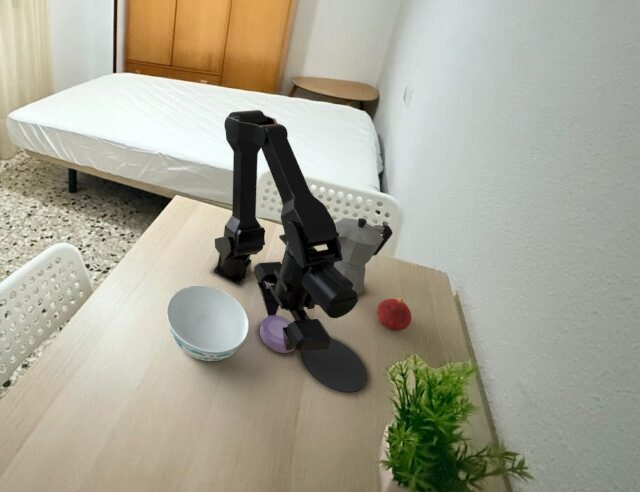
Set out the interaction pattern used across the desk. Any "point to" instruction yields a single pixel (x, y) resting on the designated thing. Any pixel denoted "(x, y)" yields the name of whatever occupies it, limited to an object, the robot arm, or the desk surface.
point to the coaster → (336, 367)
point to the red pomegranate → (394, 314)
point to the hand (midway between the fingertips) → (279, 332)
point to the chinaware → (207, 322)
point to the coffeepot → (359, 247)
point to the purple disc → (274, 332)
